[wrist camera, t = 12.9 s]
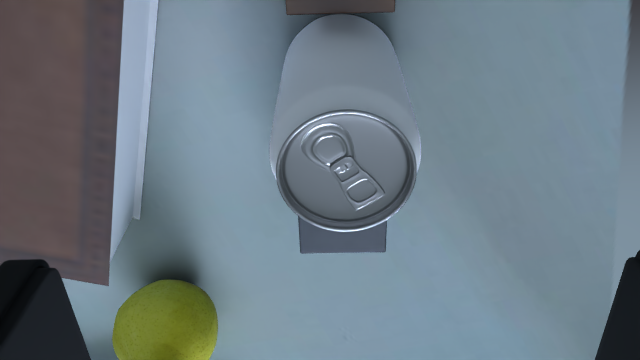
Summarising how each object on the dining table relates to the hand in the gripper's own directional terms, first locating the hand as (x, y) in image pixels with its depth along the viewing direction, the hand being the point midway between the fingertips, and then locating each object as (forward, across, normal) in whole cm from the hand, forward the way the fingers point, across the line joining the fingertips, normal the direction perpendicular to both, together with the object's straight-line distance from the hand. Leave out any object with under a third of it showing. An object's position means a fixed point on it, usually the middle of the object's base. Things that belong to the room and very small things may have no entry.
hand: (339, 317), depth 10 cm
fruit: (+24, +12, +22) cm, 35 cm away
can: (+25, 0, +5) cm, 25 cm away
